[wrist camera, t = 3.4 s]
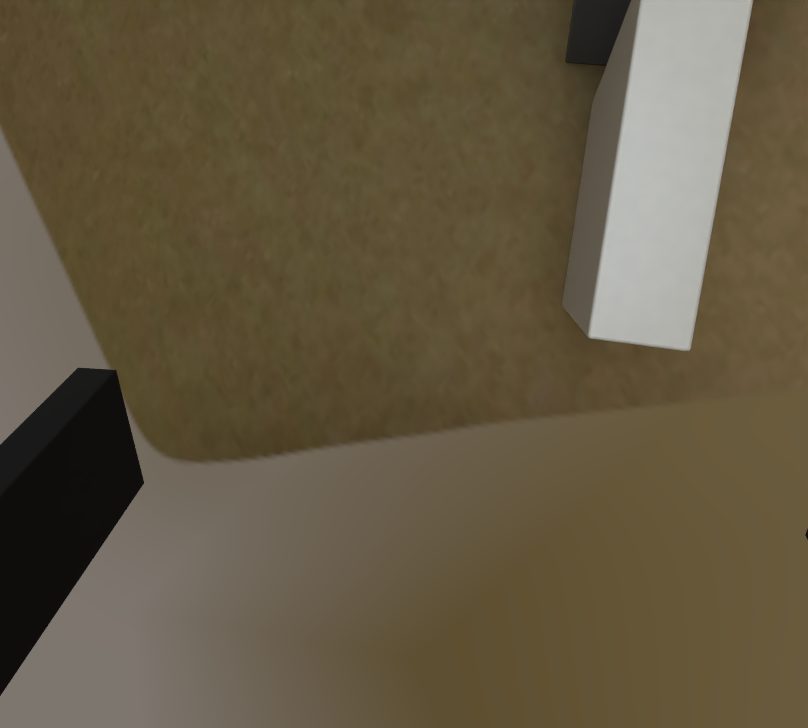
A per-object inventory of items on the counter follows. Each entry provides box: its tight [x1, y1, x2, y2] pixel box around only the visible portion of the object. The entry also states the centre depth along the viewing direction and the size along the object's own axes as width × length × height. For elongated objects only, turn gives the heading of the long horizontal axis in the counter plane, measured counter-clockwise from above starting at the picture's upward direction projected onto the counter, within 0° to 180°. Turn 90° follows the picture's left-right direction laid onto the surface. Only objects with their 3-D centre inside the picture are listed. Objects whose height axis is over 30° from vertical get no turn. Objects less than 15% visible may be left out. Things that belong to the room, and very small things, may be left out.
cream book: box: [562, 0, 753, 351], centre depth 24 cm, size 2×9×15 cm, turn 173°
